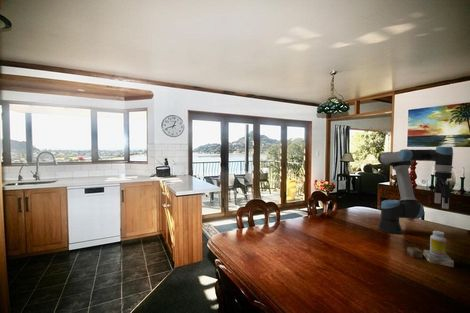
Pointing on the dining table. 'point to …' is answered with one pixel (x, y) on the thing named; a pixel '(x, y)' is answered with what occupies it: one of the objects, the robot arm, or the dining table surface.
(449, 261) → the plinth
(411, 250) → the walnut block
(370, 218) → the dining table surface
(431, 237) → the supplement bottle
